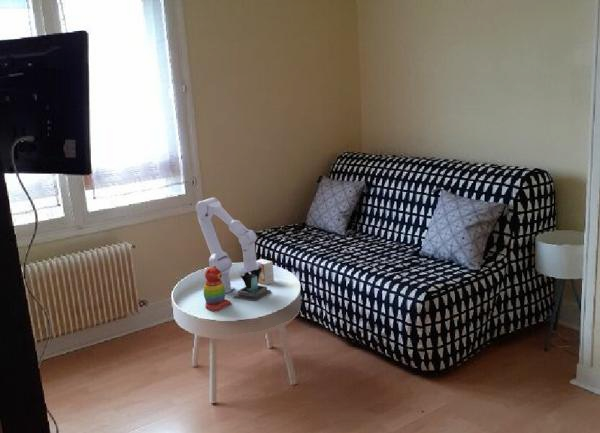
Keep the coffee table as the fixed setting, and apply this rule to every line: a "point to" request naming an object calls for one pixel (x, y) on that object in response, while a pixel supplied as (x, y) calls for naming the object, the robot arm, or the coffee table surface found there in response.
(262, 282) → the small box
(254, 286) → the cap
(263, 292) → the socket
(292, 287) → the coffee table surface
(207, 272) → the stacking bear
